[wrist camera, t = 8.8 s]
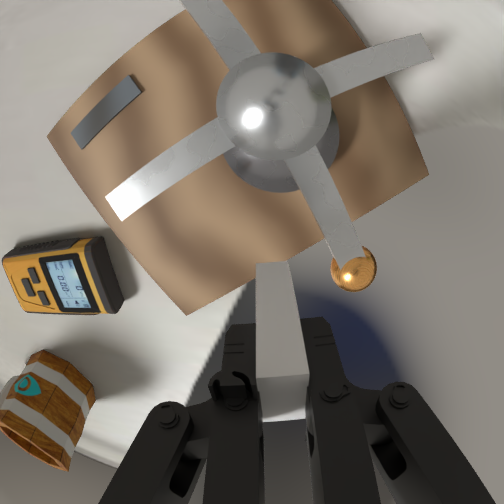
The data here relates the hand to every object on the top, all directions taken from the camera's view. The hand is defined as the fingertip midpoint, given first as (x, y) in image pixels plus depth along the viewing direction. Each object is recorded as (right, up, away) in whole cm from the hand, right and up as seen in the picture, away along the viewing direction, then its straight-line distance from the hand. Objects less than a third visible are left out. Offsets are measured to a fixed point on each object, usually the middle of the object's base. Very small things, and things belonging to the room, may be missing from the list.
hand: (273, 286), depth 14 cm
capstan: (0, +12, +5) cm, 13 cm away
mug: (-35, -19, +22) cm, 46 cm away
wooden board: (-3, +11, +7) cm, 13 cm away
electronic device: (-23, -1, +13) cm, 26 cm away
